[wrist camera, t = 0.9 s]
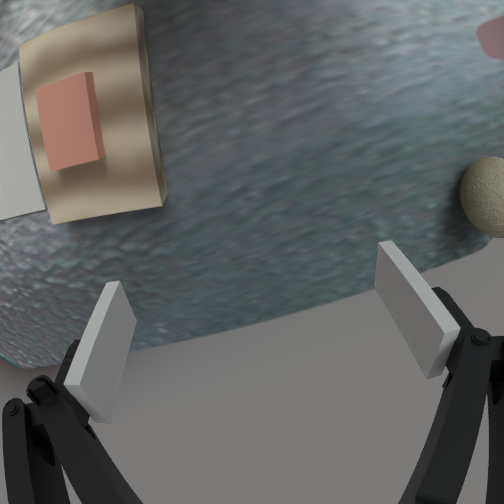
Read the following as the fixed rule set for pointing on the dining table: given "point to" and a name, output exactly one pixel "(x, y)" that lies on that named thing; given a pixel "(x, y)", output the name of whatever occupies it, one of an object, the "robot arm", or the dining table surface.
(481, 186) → the fruit
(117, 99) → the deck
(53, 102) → the block
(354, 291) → the dining table surface
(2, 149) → the mat
